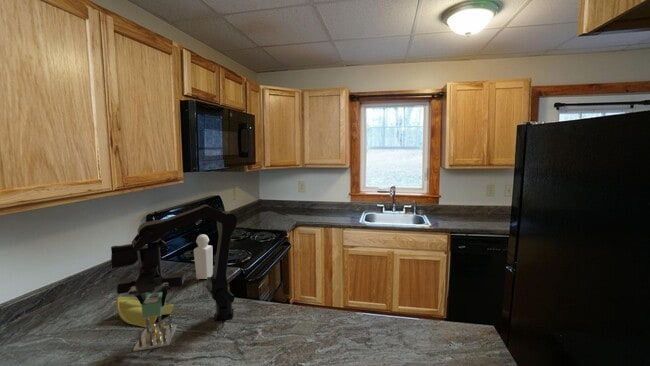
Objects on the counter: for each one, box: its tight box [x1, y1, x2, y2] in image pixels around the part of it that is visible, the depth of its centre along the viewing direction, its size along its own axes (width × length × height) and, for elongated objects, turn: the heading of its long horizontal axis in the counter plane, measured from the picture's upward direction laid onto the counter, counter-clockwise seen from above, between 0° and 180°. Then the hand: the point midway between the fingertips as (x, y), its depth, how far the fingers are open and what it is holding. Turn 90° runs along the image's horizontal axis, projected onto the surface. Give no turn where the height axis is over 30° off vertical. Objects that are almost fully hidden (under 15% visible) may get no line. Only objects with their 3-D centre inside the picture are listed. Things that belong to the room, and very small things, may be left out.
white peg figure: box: [193, 233, 214, 280], centre depth 145 cm, size 6×6×22 cm
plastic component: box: [115, 296, 174, 328], centre depth 111 cm, size 20×7×10 cm
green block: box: [142, 291, 167, 317], centre depth 96 cm, size 8×5×5 cm, turn 18°
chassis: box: [132, 314, 178, 352], centre depth 97 cm, size 11×10×5 cm
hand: (154, 307), depth 96 cm, fingers closed on green block, 5 cm apart
